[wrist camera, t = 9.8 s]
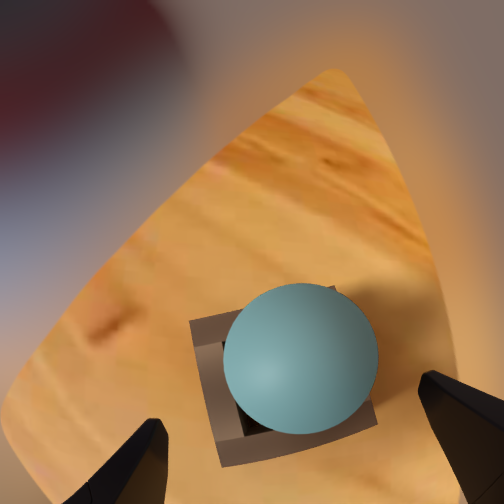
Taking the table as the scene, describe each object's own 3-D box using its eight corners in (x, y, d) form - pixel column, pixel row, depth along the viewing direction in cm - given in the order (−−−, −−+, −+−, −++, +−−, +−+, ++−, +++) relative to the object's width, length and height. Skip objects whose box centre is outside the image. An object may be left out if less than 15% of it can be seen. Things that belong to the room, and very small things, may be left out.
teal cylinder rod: (304, 409, 17) (374, 432, 5) (249, 405, 17) (214, 426, 6) (308, 356, 18) (376, 287, 7) (254, 353, 19) (233, 278, 7)
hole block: (354, 419, 16) (377, 424, 12) (232, 451, 16) (221, 467, 12) (321, 308, 20) (334, 285, 16) (205, 337, 19) (189, 320, 15)
